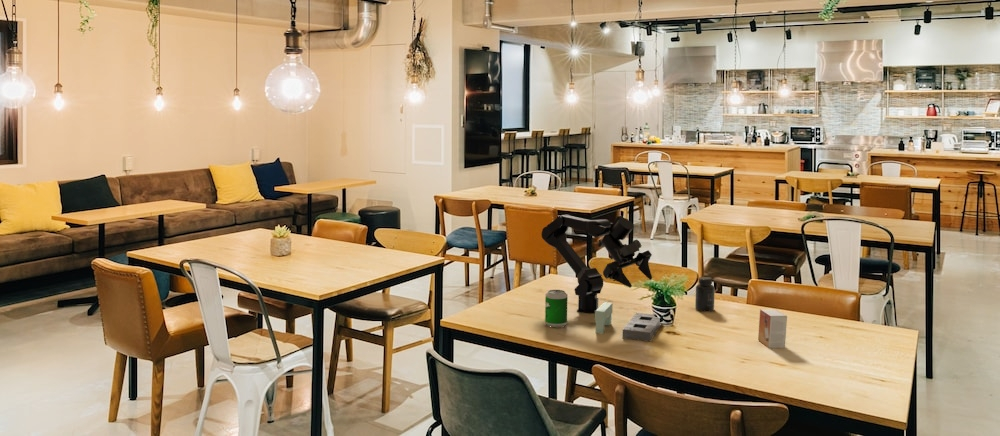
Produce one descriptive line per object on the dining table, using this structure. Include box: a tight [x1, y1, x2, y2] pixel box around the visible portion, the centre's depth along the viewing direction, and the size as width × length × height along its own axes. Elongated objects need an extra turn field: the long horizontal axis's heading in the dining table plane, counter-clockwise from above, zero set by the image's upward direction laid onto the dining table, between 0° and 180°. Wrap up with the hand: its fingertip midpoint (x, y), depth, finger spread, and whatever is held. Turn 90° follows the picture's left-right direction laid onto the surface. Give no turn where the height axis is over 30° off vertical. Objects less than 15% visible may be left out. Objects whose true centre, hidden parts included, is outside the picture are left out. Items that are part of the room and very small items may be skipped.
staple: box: [594, 301, 614, 335], centre depth 263 cm, size 3×12×8 cm, turn 159°
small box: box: [757, 308, 788, 349], centre depth 247 cm, size 8×6×10 cm
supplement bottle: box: [694, 276, 716, 312], centre depth 288 cm, size 7×7×12 cm
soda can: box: [544, 289, 568, 328], centre depth 266 cm, size 8×8×12 cm
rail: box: [622, 312, 661, 342], centre depth 261 cm, size 9×22×3 cm, turn 159°
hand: (641, 282), depth 266 cm, fingers open, 9 cm apart
